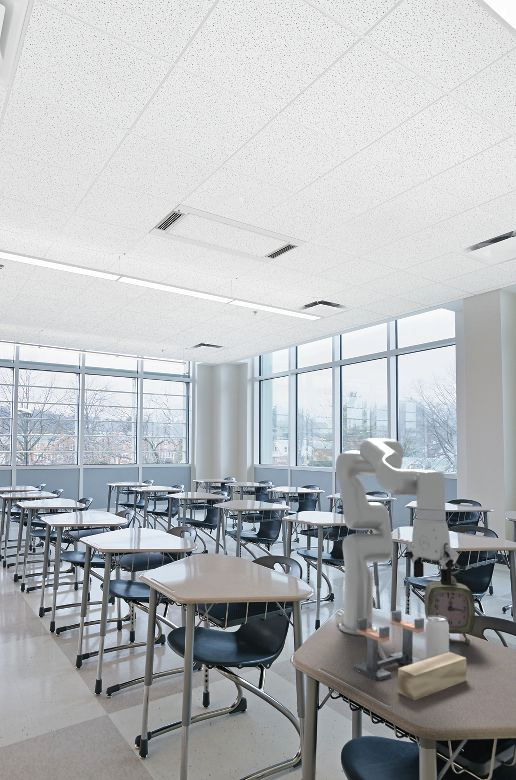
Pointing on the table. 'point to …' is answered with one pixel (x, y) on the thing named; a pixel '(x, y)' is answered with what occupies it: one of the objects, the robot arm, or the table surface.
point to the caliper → (378, 644)
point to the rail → (431, 675)
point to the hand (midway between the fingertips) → (432, 580)
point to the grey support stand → (373, 637)
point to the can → (436, 636)
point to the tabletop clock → (451, 605)
